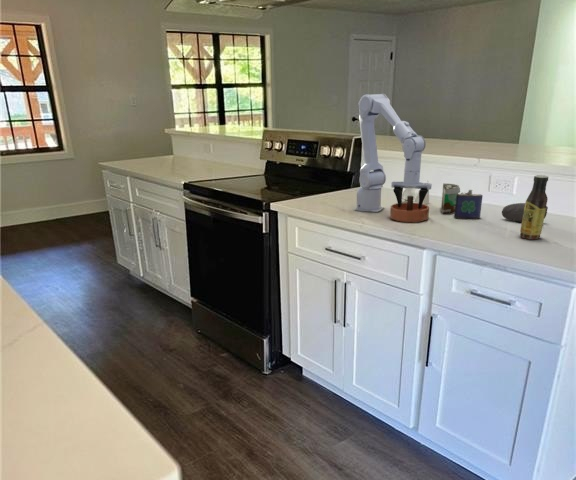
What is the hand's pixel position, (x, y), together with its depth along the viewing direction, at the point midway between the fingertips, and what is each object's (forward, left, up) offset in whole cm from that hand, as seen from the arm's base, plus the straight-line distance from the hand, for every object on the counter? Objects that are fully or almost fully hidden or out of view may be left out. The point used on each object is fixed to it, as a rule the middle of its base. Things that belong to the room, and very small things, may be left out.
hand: (409, 207), depth 191 cm
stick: (0, 0, -4) cm, 4 cm away
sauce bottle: (+43, -12, -4) cm, 45 cm away
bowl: (0, 0, -4) cm, 4 cm away
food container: (+12, +17, -4) cm, 21 cm away
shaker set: (-5, +28, -4) cm, 29 cm away
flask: (+20, +8, -4) cm, 22 cm away
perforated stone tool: (+39, +9, -4) cm, 40 cm away
